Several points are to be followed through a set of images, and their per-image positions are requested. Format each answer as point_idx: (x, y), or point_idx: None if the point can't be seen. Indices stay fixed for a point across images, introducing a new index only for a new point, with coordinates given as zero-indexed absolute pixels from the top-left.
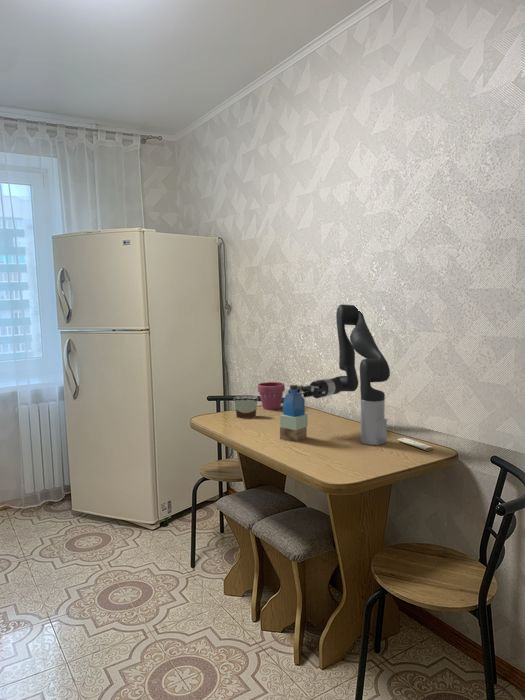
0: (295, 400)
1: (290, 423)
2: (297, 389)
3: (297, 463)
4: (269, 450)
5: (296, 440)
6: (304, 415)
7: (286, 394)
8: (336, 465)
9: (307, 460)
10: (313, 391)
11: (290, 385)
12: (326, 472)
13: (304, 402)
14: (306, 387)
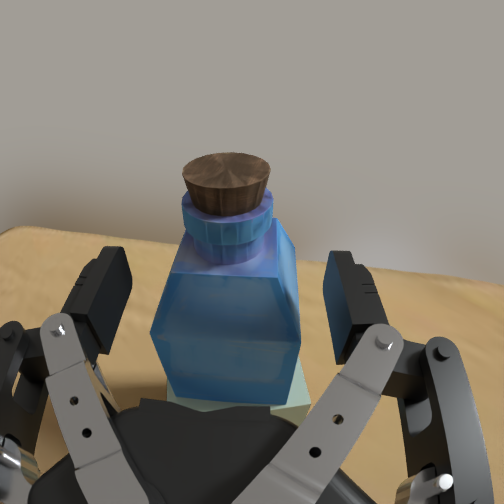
0: (177, 251)
1: None
2: (182, 208)
3: (86, 251)
4: None
5: None
6: (167, 385)
7: (278, 222)
8: (10, 283)
9: (72, 273)
10: (45, 335)
11: (259, 160)
12: (23, 250)
13: (155, 346)
14: (270, 467)
